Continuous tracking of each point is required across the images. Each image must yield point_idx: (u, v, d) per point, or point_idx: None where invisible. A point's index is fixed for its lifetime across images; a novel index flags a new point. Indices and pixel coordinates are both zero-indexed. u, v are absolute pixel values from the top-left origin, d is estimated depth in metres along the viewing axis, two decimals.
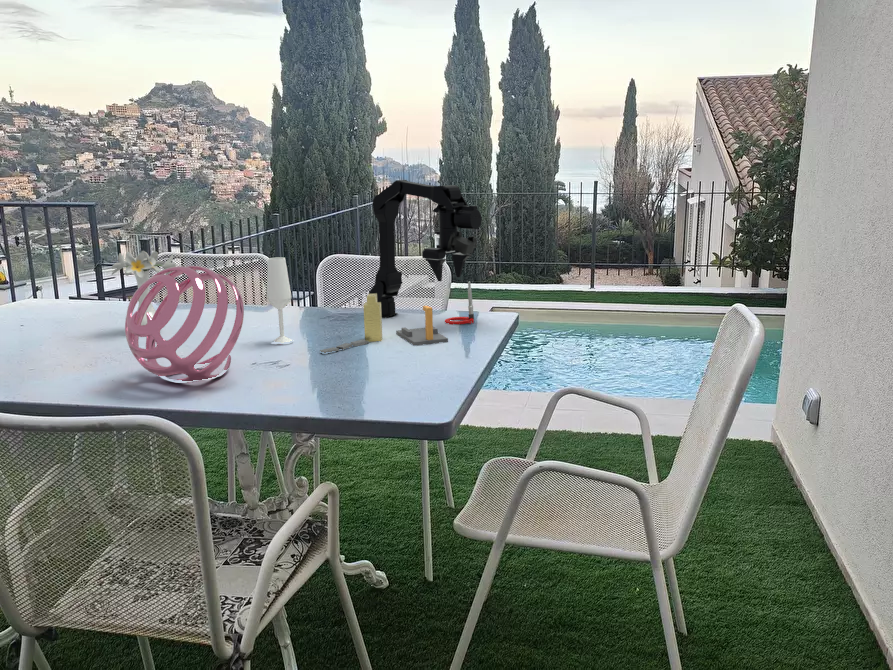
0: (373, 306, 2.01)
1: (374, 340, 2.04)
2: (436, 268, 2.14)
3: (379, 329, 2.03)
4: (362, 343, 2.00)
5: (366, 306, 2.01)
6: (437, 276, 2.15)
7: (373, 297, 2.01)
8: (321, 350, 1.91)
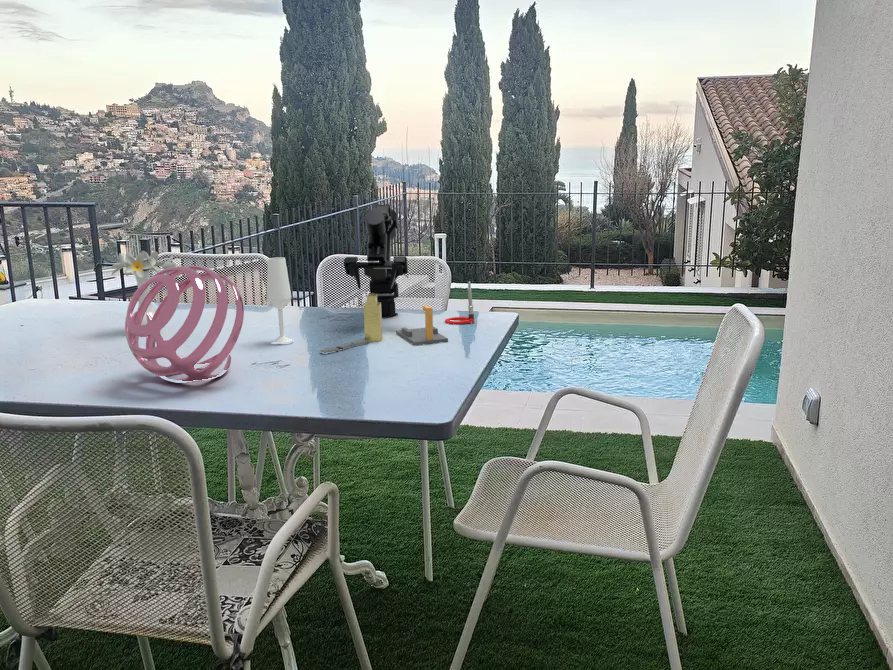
0: (373, 306, 2.01)
1: (374, 340, 2.04)
2: (394, 276, 2.13)
3: (379, 329, 2.03)
4: (362, 343, 2.00)
5: (366, 306, 2.01)
6: (392, 283, 2.11)
7: (373, 297, 2.01)
8: (321, 350, 1.91)
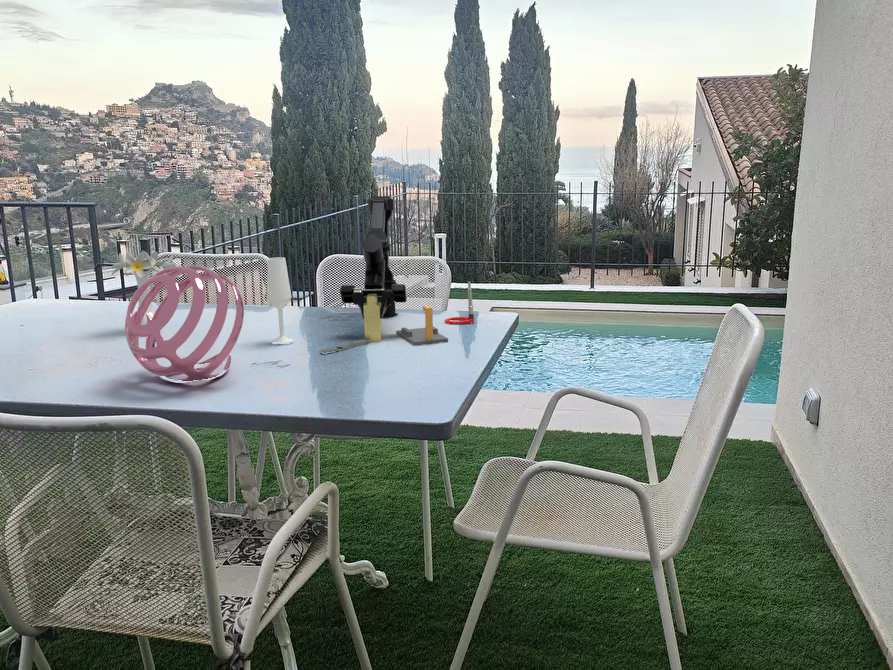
0: (373, 306, 2.01)
1: (374, 340, 2.04)
2: (385, 305, 2.05)
3: (379, 329, 2.03)
4: (362, 343, 2.00)
5: (366, 306, 2.01)
6: (383, 312, 2.04)
7: (373, 297, 2.01)
8: (321, 350, 1.91)
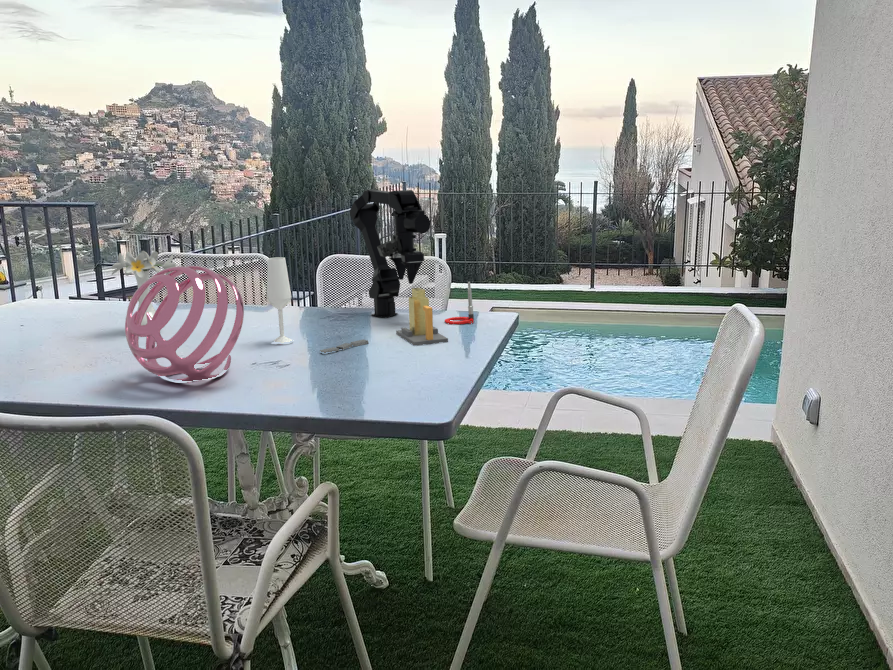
0: (423, 300, 2.04)
1: (423, 333, 2.06)
2: None
3: None
4: (362, 343, 2.00)
5: (416, 300, 2.03)
6: None
7: (423, 291, 2.03)
8: (321, 350, 1.91)
